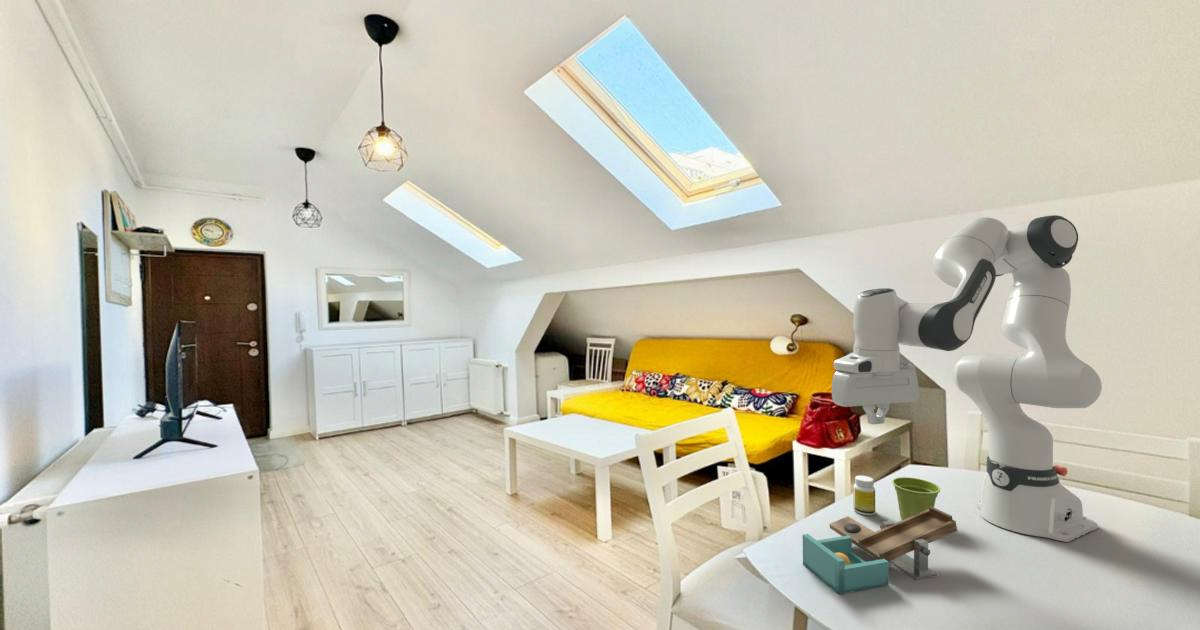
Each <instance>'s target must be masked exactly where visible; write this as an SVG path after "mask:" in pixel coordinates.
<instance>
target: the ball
mask: <svg viewBox="0 0 1200 630" xmlns="http://www.w3.org/2000/svg"><path fill="white" fill-rule="evenodd" d="M835 554H836V555H838V556H839V557H840V558H842V559H843V560H844V561H845V565H851V562H850V560H849V558H848V557H847V556H846V555H845V554H843V553H835Z"/></svg>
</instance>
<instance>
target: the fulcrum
mask: <svg viewBox="0 0 1200 630" xmlns="http://www.w3.org/2000/svg"><path fill="white" fill-rule="evenodd" d="M895 523H896V522H893V521H891V520H888V521H887V520H885V521H882V522H881V524H880V526H879V528H880V530H881V529H883V528H885V527H888V526H890V525H892V524H895ZM929 555H931V550H930V549H929V543H928V542H927V541H926V540H924V539H918V540H914V550H913V558H912V557H911V556H910V555H908V554H907V553H906V554H904V555H902V556H900V557H897V558H895V559H893V560H891V561H888V562H889V564H891V565H892V566H894V567H895V568H896V569H898V570H900V571H901V572H903V573H904V574H906V575H908V576H909V577H911V578H912V579H914V580H915V581H917V580H923V579H929V578H933V577H938V572H936V571H934V570H932V569H931V568H929Z"/></svg>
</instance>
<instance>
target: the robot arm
mask: <svg viewBox="0 0 1200 630" xmlns="http://www.w3.org/2000/svg"><path fill="white" fill-rule="evenodd" d="M1078 233H1079V232H1078V230H1077V228H1076V226H1075V225H1074V224H1073V223H1072V222H1071V221H1070V220H1069V219H1067V218H1065V217H1064V216H1061V215H1057V214H1056V215H1055V214H1054V215H1053V214H1052V215H1043V216H1040V217H1036V218H1033V219H1032V220H1028V221H1024V222H1021V223H1018V224H1014V225H1012V226H1009V227H1007V226H1006V225H1005V224H1004V223H1003V222H1002V221H1000V220H998V219H997V218H993V217H988V216H987V217H986V216H985V217H983V216H982V217H977V218H974V219H972V220H970V221H969V222H967V223H966V224H964V225H962V226H961V227H960V228H958V229H957V230H956V231H955V232H953V234H952V235H950V236H949V237H948V238H947V239H946V240H945V242H943V243H942V244H941V246H939V248H938V249H937V250H936V252H935V254H933V258H932V261H931V263H932V264H931V265H932V269H933V271H934V274H935V275H936V276H937V278H938V279H939V280H941V281H942V282H943V283H945V285H948V286H950V287H953V288H956V289H955V290H954V293H953V295H952V296H951V298H949V299H947V300H944V301H939V302H933V303H932V302H929V303H927V302H926V303H925V302H923V303H919V302H909V301H906V300H905V299H902V298H900V297H899V296H898V295H897V292H896V289H894V288H893V289H892V288H891V287H890V288H889V287H888V288H883V287H882V288H874V289H868V290H864V291H861V292H860V293H859V294H857V296H856V298H855V302H854V307H853V317H852V319H853V323H852V324H853V327H852V329H853V332H854V336H855V338H854V343H853V347H852V348H853V350H852V351H853V352H850V353H848V354H846V355H845V356H841V357H840V358H838V359H835V360H834V361H833V370H836V371H835V372H834V374H833V376H832V381H831V399H832V401H833V403H834V404H835V405H837V406H840V407H844V408H848V407H860V406H861V407H862V409H863V411H864V412H865V413H866V416H867V423H868V424H870V425H883V424H885V422H886V421H885V420H886V418H885V417H886V415H887V413H888V412H889V410H890V404H898V403H899V404H900V403H910V402H911V403H912V402H917V401H918V399H919V397H920V389H919V381H918V380H919V379H918V375H917V372H916V365H915V364H913V362H911V361H910V360H908V359H904V360H903V359H902V360H901V359H900V352H901V350H900V346H901V345H902V346H909V347H917V348H920V347H921V348H929V349H934V350H939V351H945V352H951V351H956V350H958V349H959V348H961V347H962V346H963V345H965V344H966V343H967V342H968V341H969V340H970V338H971V336H972V333H973V331H974V327H975V322H976V319H977V317H978V316H979V314H980V312H981V310H982V308H983V306H984V304H985V302H986V300H987V298H988V297H989V295H990V293H991V291H992V289H993V288H994V285H995V282H996V278H997V277H1001V276H1004V275H1007V274H1012V278H1013V284H1012V287H1011V289H1010V292H1009V294H1008V298H1007V301H1006V307H1005V309H1004V314H1003V318H1002V323H1001V328H1000V329H1001V332H1002V335H1003V336H1004V337H1005V339H1007V340H1008V341H1009V342H1011V343H1012V344H1015V345H1017V346H1019V347H1020V348H1023V349H1025V350H1027V352H1026V354H1024V355H1011V354H999V353H998V354H997V353H980V354H969V355H963V356H962V357H960V359H959V360H958V361H957V362H956V363H955V364H954V367H953V372H952V376H953V381H954V383H955V386H956V387H957V388H958V390H960V391H961V393H963V394H965V395H966V396H968V398H969V399H970V400H971V401H973V403H974V404H975V405H976V406H977V408H978V409H979V411H980V412H981V414H982V416H983V418H984V421H985V423H986V427H987V434H988V435H987V437H988V456H987V457H986V461H985V466H986V472H987V474H985V476H983V482H982V489H981V497H980V498H981V499H980V500H977V502H976V506H977V508H978V509H979V515H980V516H981V517H982V518H983V519H984V520H985V521H987V522H989V523H991V524H993V525H995V526H998V527H999V528H1002V529H1005V530H1009V531H1011V532H1015V533H1019V534H1023V535H1027V536H1034V537H1041V538H1047V539H1052V540H1056V541H1061V542H1064V543H1065V542H1067V543H1069V542H1071V541H1074V540H1075V538H1076V539H1078V538H1080V537H1082V536H1084V535H1087V534H1088V532H1089V533H1091V532H1092V530H1093V531H1096V530H1097V529H1098V528H1099V525H1098V523H1097V522H1096V521H1094V520H1093V519H1090V518H1089V517H1087V516H1084V511H1083V510H1084V509H1083V503H1082V501H1081V499H1080V497H1079V496H1077V495H1076V494H1074V493H1073V492H1072V491H1070V490H1069V489H1068V488H1066V487H1065V486H1064V485H1062V484H1061V483H1060V479H1059V476H1061V477H1066V476H1067V474H1068V468H1067V467H1064V466H1059V465H1057V464H1055V465H1054V437H1053V435H1052V433H1051V431H1050V430H1049V429H1048V427H1046V426H1045V425H1044V424H1042V423H1041V422H1039V421H1037V420H1035V419H1033V418H1031V417H1030V416H1029V415H1027V414H1026V413H1025V412H1024V411H1023V409H1022V407H1021V404H1024V405H1030V406H1037V407H1043V408H1044V407H1045V408H1052V409H1086V408H1089V407H1090V406H1092V405H1093V404H1094V403H1096V401H1097V400H1098V399H1099V397H1100V396H1101V393H1102V388H1103V385H1102V380H1101V378H1100V375H1099V374H1098V373H1097V372H1096V370H1095V369H1094V368H1093V367H1092V366H1090V365H1089V364H1088V363H1086V362H1085V361H1083V360H1081V359H1080V358H1079V357H1077V356H1076V355H1075V354H1074V353H1073V352H1072V349H1070V346H1069V345H1068V343H1067V339H1066V333H1067V332H1066V331H1067V321H1068V316H1069V311H1070V305H1071V295H1072V288H1071V278H1070V275H1069V272H1068V271H1067V270H1066V269H1065V268H1063V267H1065V266H1067V265H1068V264H1069V263H1070V262H1071V260H1072V258H1073V254H1075V251H1076V249H1077V246H1078V242H1079V234H1078ZM876 407H878V408H877V410H876ZM875 410H876V412H875ZM1090 531H1091V532H1090ZM1086 533H1087V534H1086ZM1081 535H1082V536H1081Z"/></svg>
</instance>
